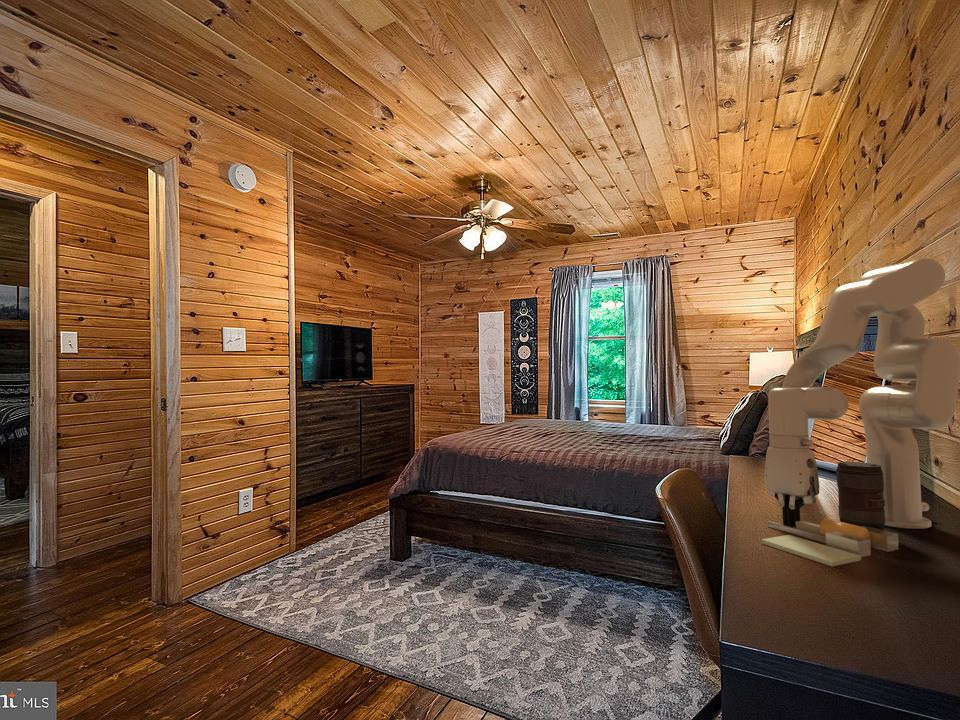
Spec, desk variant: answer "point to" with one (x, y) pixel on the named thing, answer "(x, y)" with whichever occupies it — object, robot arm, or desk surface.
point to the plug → (833, 528)
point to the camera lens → (861, 494)
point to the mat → (811, 550)
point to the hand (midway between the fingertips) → (791, 525)
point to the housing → (849, 539)
